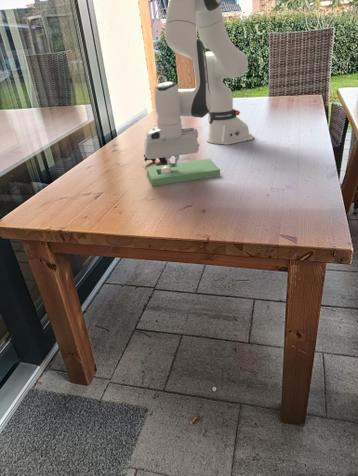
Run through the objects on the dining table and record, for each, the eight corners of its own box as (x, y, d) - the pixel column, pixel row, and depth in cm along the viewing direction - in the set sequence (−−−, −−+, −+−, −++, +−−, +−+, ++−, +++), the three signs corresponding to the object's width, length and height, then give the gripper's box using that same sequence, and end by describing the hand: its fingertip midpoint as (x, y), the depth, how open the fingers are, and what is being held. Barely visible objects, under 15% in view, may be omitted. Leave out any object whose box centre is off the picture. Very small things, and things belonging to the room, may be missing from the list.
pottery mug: (153, 171, 153) (143, 153, 152) (149, 175, 163) (140, 157, 161) (178, 158, 156) (168, 140, 155) (173, 162, 165) (164, 145, 164)
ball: (170, 174, 147) (170, 164, 145) (172, 177, 143) (171, 167, 141) (160, 175, 146) (159, 165, 144) (161, 179, 143) (161, 168, 141)
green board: (209, 164, 154) (209, 158, 153) (220, 175, 142) (219, 169, 141) (147, 173, 150) (146, 167, 149) (152, 186, 138) (151, 179, 137)
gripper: (195, 125, 141) (197, 160, 148) (141, 132, 138) (146, 168, 145) (199, 128, 136) (201, 165, 143) (143, 136, 133) (148, 173, 140)
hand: (173, 166), depth 144 cm, fingers closed
